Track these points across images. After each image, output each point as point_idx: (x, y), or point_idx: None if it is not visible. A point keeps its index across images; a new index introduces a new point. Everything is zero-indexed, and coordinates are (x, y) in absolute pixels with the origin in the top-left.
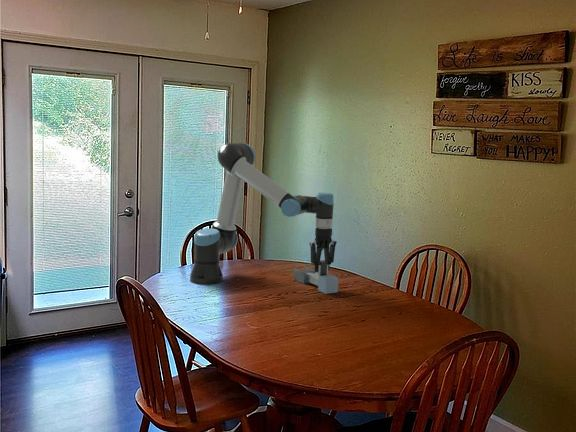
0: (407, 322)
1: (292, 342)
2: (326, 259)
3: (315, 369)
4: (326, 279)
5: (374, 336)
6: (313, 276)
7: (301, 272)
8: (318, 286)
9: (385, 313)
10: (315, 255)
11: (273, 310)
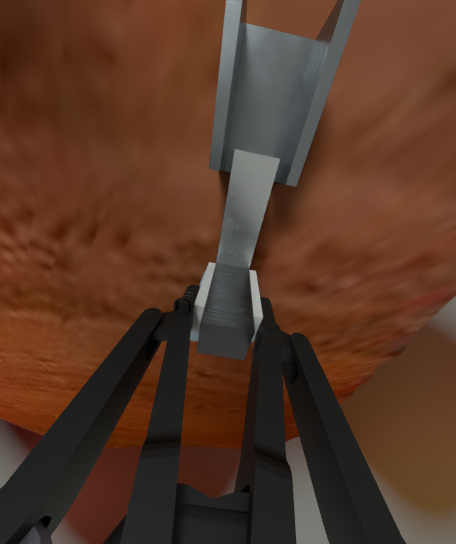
0: (211, 423)
1: (32, 395)
2: (255, 357)
3: (43, 424)
4: (191, 339)
5: (139, 421)
6: (222, 236)
7: (215, 124)
8: (201, 279)
9: (215, 403)
10: (127, 395)
11: (19, 317)
